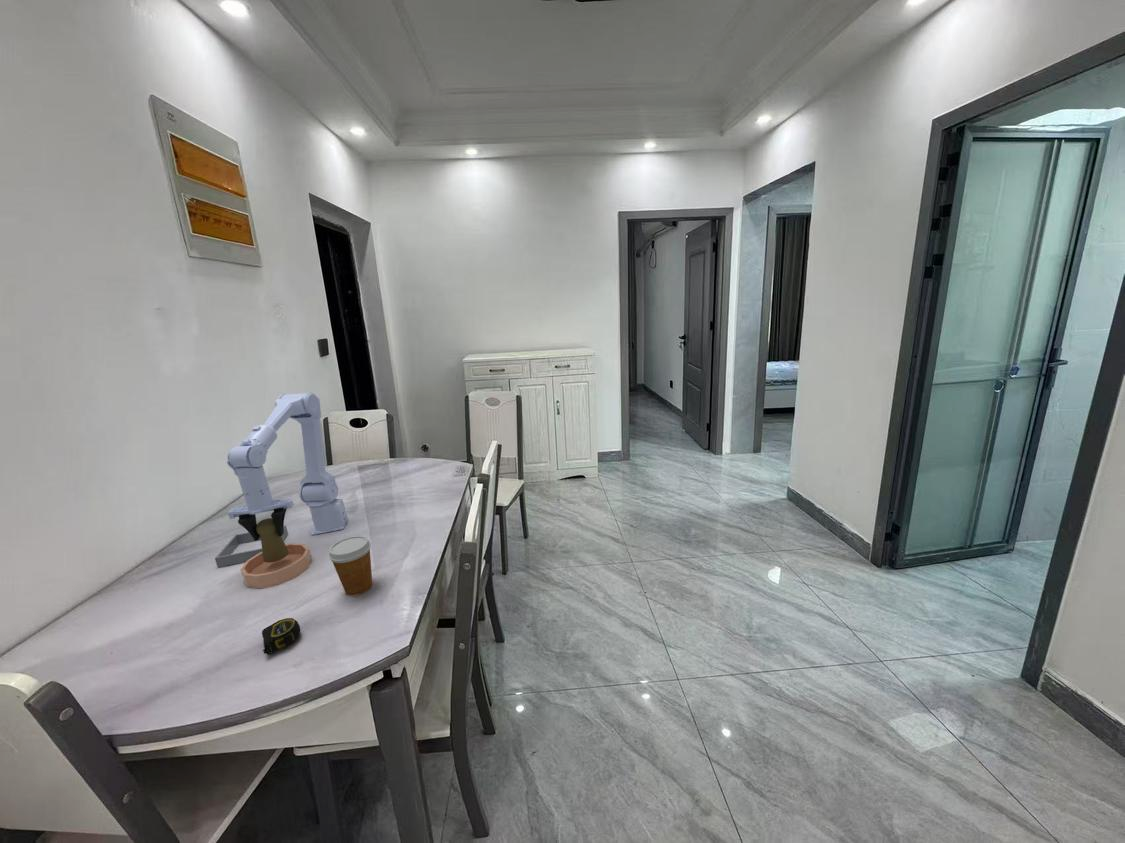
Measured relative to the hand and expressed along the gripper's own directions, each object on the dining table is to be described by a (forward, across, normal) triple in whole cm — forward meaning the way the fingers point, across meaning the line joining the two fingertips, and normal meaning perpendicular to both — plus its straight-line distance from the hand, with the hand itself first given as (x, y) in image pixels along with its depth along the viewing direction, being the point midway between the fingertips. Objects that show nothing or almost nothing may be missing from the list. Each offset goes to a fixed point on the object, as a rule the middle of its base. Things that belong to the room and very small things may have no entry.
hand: (269, 536), depth 122 cm
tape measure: (+10, +10, -33) cm, 36 cm away
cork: (+7, 0, +1) cm, 7 cm away
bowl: (+10, 0, 0) cm, 10 cm away
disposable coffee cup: (+10, +23, -18) cm, 31 cm away
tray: (+10, -11, +16) cm, 22 cm away
